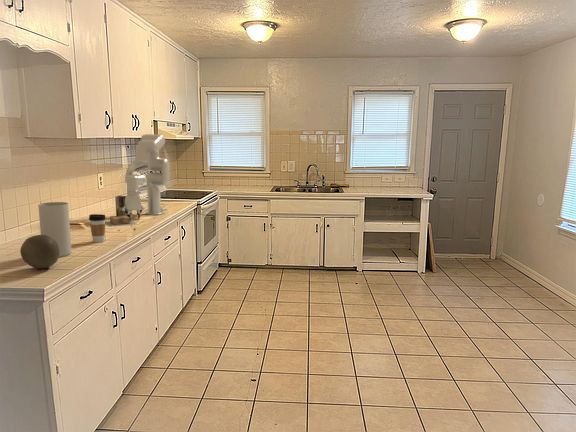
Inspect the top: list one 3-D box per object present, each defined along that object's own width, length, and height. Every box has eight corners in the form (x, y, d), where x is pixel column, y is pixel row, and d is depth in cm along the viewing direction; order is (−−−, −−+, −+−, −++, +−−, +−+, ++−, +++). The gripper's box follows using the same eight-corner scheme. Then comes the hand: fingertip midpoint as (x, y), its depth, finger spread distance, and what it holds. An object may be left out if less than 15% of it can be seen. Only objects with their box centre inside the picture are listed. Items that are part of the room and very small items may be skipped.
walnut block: (125, 221, 282) (125, 215, 282) (130, 223, 274) (129, 217, 274) (110, 222, 276) (109, 216, 276) (114, 225, 268) (113, 219, 268)
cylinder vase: (64, 249, 213) (61, 201, 208) (76, 254, 205) (72, 204, 201) (38, 254, 203) (34, 203, 199) (48, 259, 195) (44, 206, 191)
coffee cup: (90, 240, 234) (89, 213, 231) (106, 239, 237) (105, 213, 235) (90, 243, 226) (88, 216, 224) (107, 242, 230) (105, 215, 227)
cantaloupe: (34, 264, 188) (31, 231, 185) (66, 264, 189) (64, 232, 186) (15, 273, 174) (12, 238, 172) (50, 274, 175) (47, 239, 172)
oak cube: (136, 220, 292) (136, 213, 291) (138, 222, 288) (138, 214, 287) (128, 221, 289) (128, 214, 288) (130, 222, 285) (130, 215, 284)
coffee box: (132, 218, 302) (131, 195, 299) (128, 219, 295) (127, 197, 293) (120, 217, 303) (119, 195, 300) (115, 219, 296) (114, 196, 293)
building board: (129, 221, 287) (129, 219, 287) (137, 226, 274) (137, 224, 274) (103, 224, 277) (103, 222, 277) (109, 228, 264) (109, 226, 264)
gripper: (143, 192, 293) (144, 218, 296) (118, 193, 283) (119, 219, 286) (147, 193, 287) (147, 219, 290) (121, 194, 277) (122, 221, 280)
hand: (133, 219), depth 288 cm, fingers open, 5 cm apart
